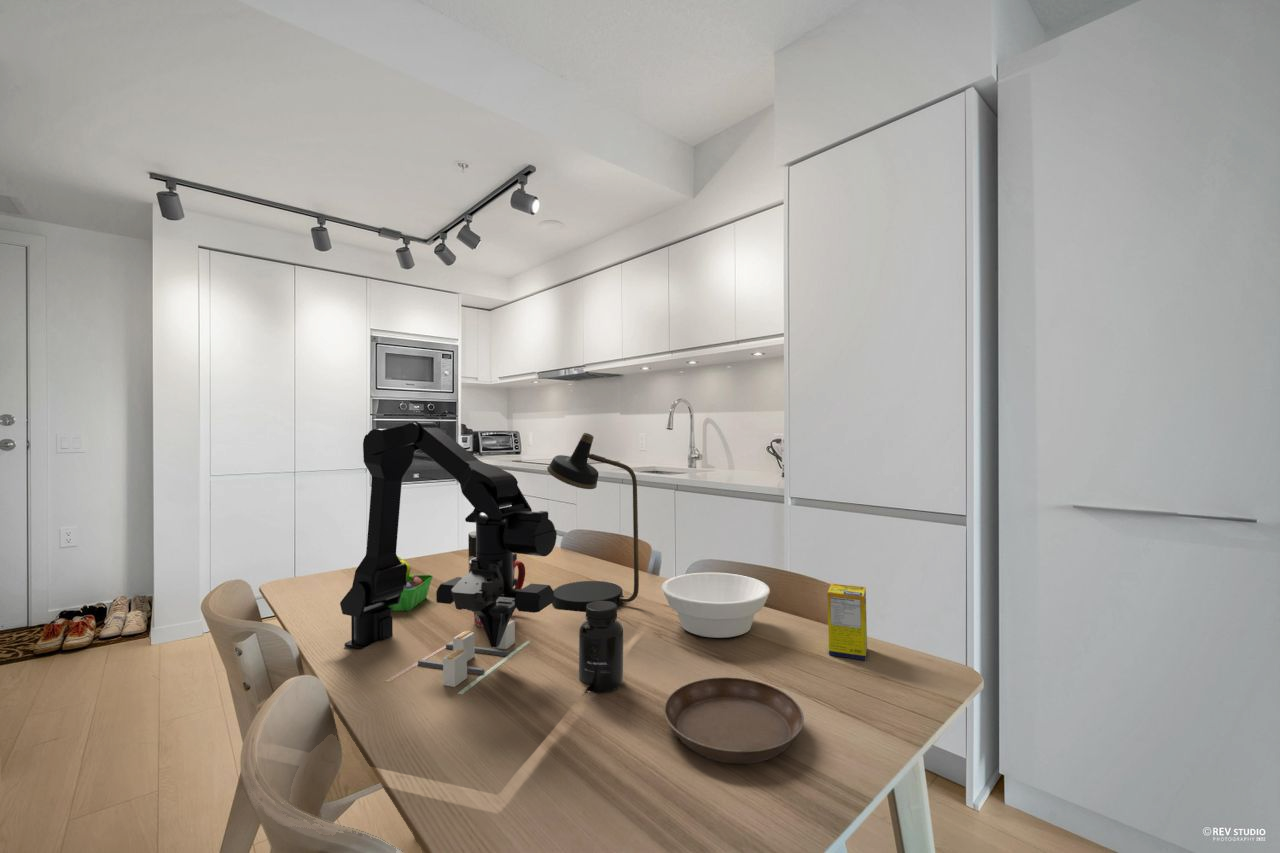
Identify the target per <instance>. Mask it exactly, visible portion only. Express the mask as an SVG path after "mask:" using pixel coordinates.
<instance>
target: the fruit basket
mask: <svg viewBox="0 0 1280 853" xmlns="http://www.w3.org/2000/svg"><path fill="white" fill-rule="evenodd" d="M397 557H398V558H399V560H400V562H401V563H402V564H406V565H407V573H406V582H407V585H405V586H404V589H403V592H402V593H401V597H400V600H399V603H398V604H394V605H391V606H389V607H391V611H394V612H395V611H411V610H413V609H414V608H415V607H417V606H418V605H419V604H421V603H422V602H423V601H424V600H425V598H426V599H427V598H428V594H429V589H430V585H431V582H432V580H433V575H432V574H410V573H411V570H412V567H411V565H410V563H409V562H408V561H406V560H404V559H402V558H401V557H400V556H398V555H397ZM418 603H419V604H418Z"/></svg>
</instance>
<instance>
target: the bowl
mask: <svg viewBox="0 0 1280 853" xmlns="http://www.w3.org/2000/svg"><path fill="white" fill-rule="evenodd" d="M661 590H662V592H663V595H664V597H665V599H666V601H667V603H668V605H669V607H670V608H671V609H672V610H674V611H676V613H677V617H678V620H679V624H680V626H681V627H682V629H684V630H685V631H687V632H689V633H691V634H694V635H697V636H700V637H706V638H714V639H715V638H716V639H717V638H720V639H721V638H725V639H726V638H732V637H737V636H741V635H743V634H744V635H745V634H746V633H748V632H749V631H750V630H751V627H752V625H753V621H754V618H755V615H756V614H757V613H759V612H761V611H762V609H763V608H764V606H765V604H766V602H767V601H768V600H767V599H768V598H769V595H770V593H771V589H770V587H769V585H768V584H767V583H765V582H763V581H762V580H759V579H757V578H753V577H750V576H745V575H741V574H736V573H735V574H734V573H729V572H728V573H727V572H694V573H693V572H692V573H687V574H681V575H677V576H674V577H670V578H669V579H667V580H665V581H664V582H663V583H662V585H661Z"/></svg>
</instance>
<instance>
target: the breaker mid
mask: <svg viewBox="0 0 1280 853" xmlns="http://www.w3.org/2000/svg"><path fill="white" fill-rule="evenodd" d="M475 638H476V637H475V632H473V631H471V630H466V631H463V632H461V633H459V634H458V635H456V636H454V637H453V638H452V641H453V649H452V652H454V651H455V650H459V649H460V650H463V651H466V652H467V662H469V661H471V660H472V659H473V658H475V657H476V655H475V653H476V652H475V647H476V646H475V643H476V642H475Z"/></svg>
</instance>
